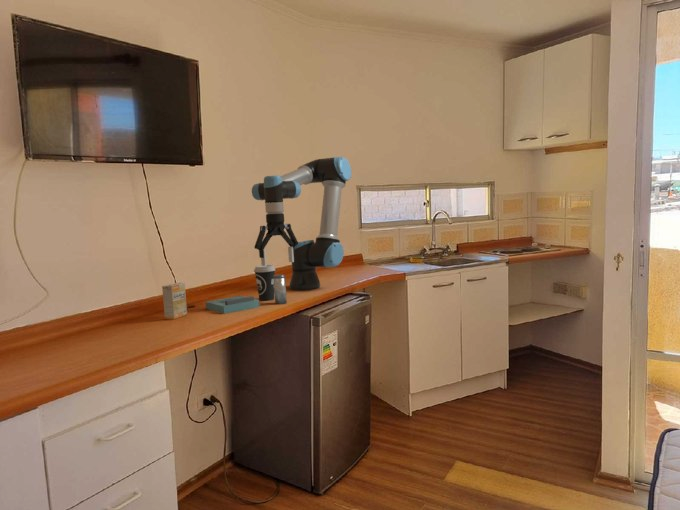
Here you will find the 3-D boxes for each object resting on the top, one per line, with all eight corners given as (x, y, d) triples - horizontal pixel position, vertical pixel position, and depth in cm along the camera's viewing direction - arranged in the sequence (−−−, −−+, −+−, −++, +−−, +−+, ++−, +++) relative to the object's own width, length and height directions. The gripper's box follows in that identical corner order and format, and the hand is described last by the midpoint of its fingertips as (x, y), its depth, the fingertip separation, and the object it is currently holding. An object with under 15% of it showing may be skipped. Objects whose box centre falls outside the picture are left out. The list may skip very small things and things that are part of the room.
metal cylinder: (282, 301, 224) (280, 274, 223) (288, 302, 220) (287, 274, 219) (273, 303, 221) (271, 275, 220) (279, 304, 217) (277, 276, 216)
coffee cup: (273, 301, 226) (271, 267, 224) (252, 301, 228) (250, 267, 226) (280, 297, 235) (278, 264, 234) (260, 297, 237) (258, 264, 236)
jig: (240, 302, 228) (239, 292, 227) (259, 306, 215) (258, 295, 215) (206, 308, 217) (205, 298, 217) (224, 313, 205) (223, 302, 205)
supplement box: (174, 319, 199) (171, 286, 198) (164, 319, 201) (161, 285, 200) (188, 314, 207) (185, 282, 206) (178, 314, 209) (175, 282, 207)
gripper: (294, 211, 228) (297, 260, 230) (243, 214, 212) (247, 266, 214) (304, 211, 222) (307, 260, 224) (253, 214, 206) (256, 267, 208)
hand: (278, 263), depth 219 cm, fingers open, 13 cm apart
